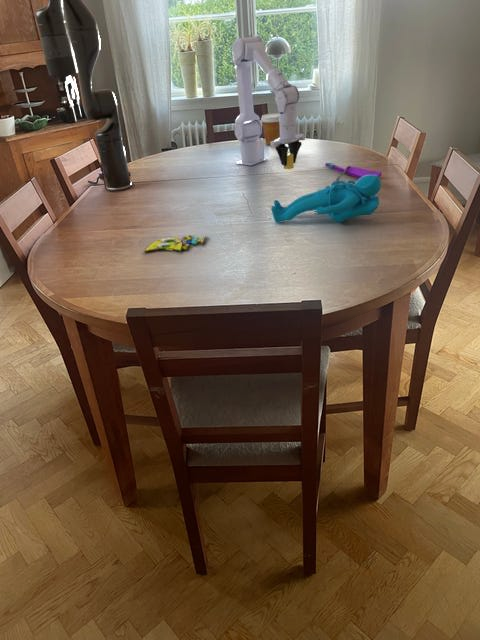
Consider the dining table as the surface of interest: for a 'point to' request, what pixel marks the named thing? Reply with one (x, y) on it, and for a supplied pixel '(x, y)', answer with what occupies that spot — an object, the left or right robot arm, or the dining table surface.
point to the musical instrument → (353, 171)
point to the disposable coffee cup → (271, 127)
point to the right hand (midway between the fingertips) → (288, 163)
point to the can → (289, 161)
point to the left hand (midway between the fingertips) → (75, 120)
